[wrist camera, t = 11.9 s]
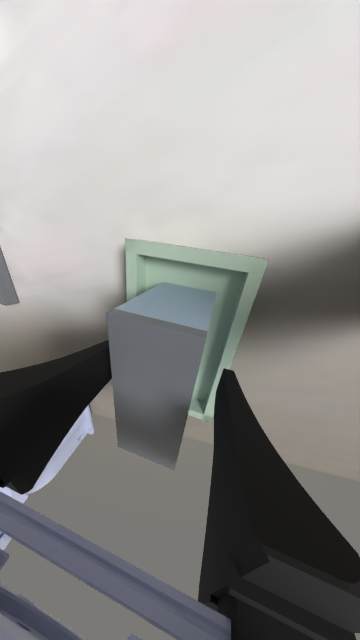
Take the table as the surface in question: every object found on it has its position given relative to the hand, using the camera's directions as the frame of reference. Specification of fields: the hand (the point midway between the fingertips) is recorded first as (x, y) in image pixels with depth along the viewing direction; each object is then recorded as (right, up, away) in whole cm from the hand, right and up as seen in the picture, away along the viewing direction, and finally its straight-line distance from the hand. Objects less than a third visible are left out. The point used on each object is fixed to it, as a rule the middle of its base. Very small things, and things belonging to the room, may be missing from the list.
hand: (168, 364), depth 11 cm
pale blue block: (+1, +1, +3) cm, 3 cm away
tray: (+1, +2, +3) cm, 4 cm away
